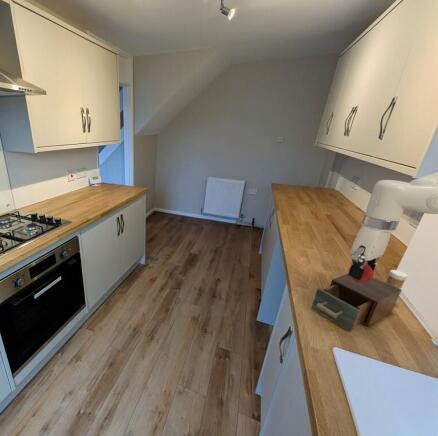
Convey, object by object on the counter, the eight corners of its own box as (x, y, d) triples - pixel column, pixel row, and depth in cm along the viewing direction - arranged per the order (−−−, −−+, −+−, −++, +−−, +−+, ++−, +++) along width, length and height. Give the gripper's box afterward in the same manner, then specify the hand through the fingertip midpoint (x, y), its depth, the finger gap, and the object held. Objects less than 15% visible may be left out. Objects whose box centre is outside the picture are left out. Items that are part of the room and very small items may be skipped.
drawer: (341, 337, 75) (350, 316, 72) (303, 311, 86) (308, 292, 83) (374, 319, 82) (382, 299, 79) (335, 297, 93) (341, 279, 90)
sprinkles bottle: (391, 307, 89) (405, 277, 85) (376, 300, 93) (388, 271, 88) (395, 303, 91) (409, 273, 87) (380, 297, 95) (392, 268, 90)
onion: (341, 279, 78) (349, 258, 76) (352, 275, 80) (360, 255, 78) (362, 289, 73) (370, 267, 71) (373, 285, 75) (382, 263, 73)
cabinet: (367, 326, 80) (378, 302, 77) (324, 301, 92) (332, 279, 88) (391, 313, 86) (401, 289, 83) (348, 291, 98) (355, 270, 95)
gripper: (378, 215, 76) (360, 263, 82) (348, 222, 69) (331, 275, 76) (410, 222, 70) (388, 275, 76) (380, 232, 63) (359, 288, 69)
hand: (360, 274), depth 76 cm, fingers closed on onion, 5 cm apart
